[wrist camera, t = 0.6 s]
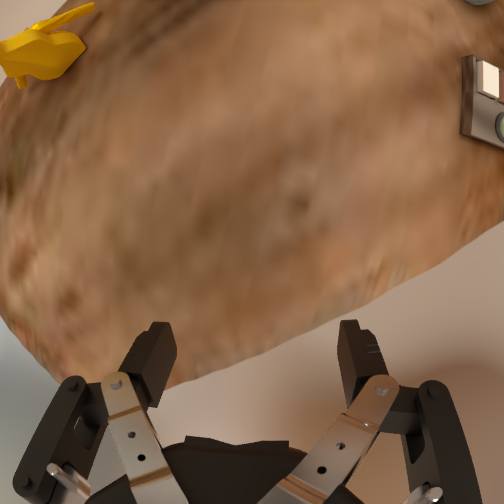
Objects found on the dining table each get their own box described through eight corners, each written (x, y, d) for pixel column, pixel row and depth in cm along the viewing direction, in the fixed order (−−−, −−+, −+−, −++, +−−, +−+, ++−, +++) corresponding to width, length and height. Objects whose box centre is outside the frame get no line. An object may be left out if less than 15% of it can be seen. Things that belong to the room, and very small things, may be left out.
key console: (462, 57, 28) (478, 53, 24) (521, 87, 27) (537, 87, 23) (459, 133, 32) (476, 135, 29) (517, 155, 32) (533, 159, 28)
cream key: (473, 62, 26) (482, 60, 24) (489, 69, 26) (498, 68, 24) (473, 91, 28) (483, 90, 26) (489, 98, 28) (498, 98, 26)
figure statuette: (100, 2, 28) (2, -41, 8) (121, 29, 30) (15, -13, 10) (28, 80, 33) (-74, 86, 13) (44, 110, 35) (-65, 126, 15)
